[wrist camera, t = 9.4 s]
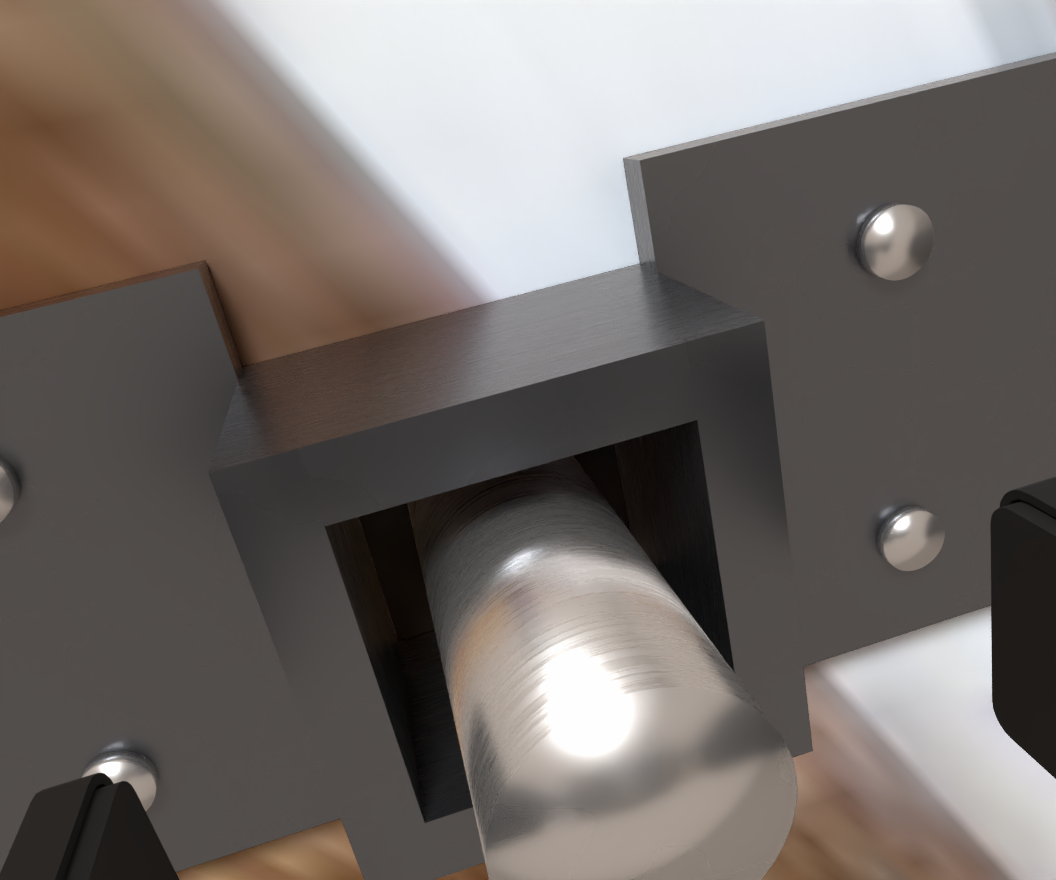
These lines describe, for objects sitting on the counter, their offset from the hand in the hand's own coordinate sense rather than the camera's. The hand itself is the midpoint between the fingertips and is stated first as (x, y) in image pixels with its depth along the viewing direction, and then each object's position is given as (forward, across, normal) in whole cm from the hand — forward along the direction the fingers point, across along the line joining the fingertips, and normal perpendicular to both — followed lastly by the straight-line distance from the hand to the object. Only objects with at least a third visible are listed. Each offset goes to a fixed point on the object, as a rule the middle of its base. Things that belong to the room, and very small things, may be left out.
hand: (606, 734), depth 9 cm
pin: (+7, 0, 0) cm, 7 cm away
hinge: (+7, 0, 0) cm, 7 cm away
